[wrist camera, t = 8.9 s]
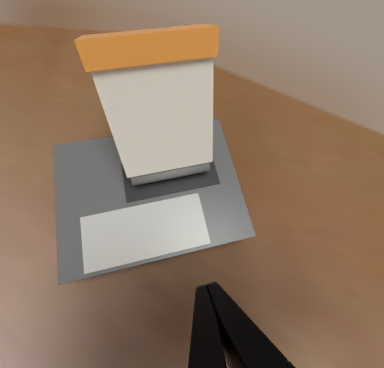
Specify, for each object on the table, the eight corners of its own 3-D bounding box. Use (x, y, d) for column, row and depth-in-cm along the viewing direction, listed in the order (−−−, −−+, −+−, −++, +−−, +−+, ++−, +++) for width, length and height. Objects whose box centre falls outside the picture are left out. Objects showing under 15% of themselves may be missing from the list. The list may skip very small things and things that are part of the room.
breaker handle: (215, 176, 18) (218, 26, 11) (129, 193, 17) (74, 40, 10) (207, 161, 20) (206, 23, 13) (129, 176, 19) (82, 35, 12)
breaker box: (242, 239, 22) (257, 235, 18) (81, 278, 19) (56, 285, 15) (212, 139, 25) (219, 117, 21) (73, 163, 23) (51, 143, 19)
